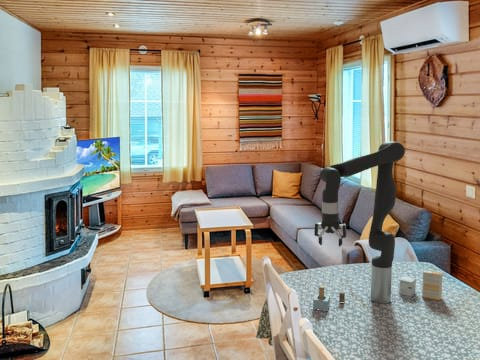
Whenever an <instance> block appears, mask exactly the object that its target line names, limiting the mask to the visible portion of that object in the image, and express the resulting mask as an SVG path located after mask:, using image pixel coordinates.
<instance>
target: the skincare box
mask: <svg viewBox="0 0 480 360" xmlns="http://www.w3.org/2000/svg"><path fill="white" fill-rule="evenodd" d="M416 285H417V279H416V278H413V277H410V276H402V277H401V278H400V279H399V288H398V289H399V290H398V293H399V295H404V296H407V297H413V295H414V294H415V293H416V288H417V287H416Z"/></svg>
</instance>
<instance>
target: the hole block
mask: <svg viewBox="0 0 480 360" xmlns="http://www.w3.org/2000/svg"><path fill="white" fill-rule="evenodd" d="M330 298H331V296H330V295H326V294H324V300H323V299H319V293H316V294H314V297H313V299H312V310H313V309H319V310H325V311H329V309H330V307H329V305H331V304H330V303H331V301H330V300H331V299H330ZM328 308H329V309H328Z"/></svg>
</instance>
